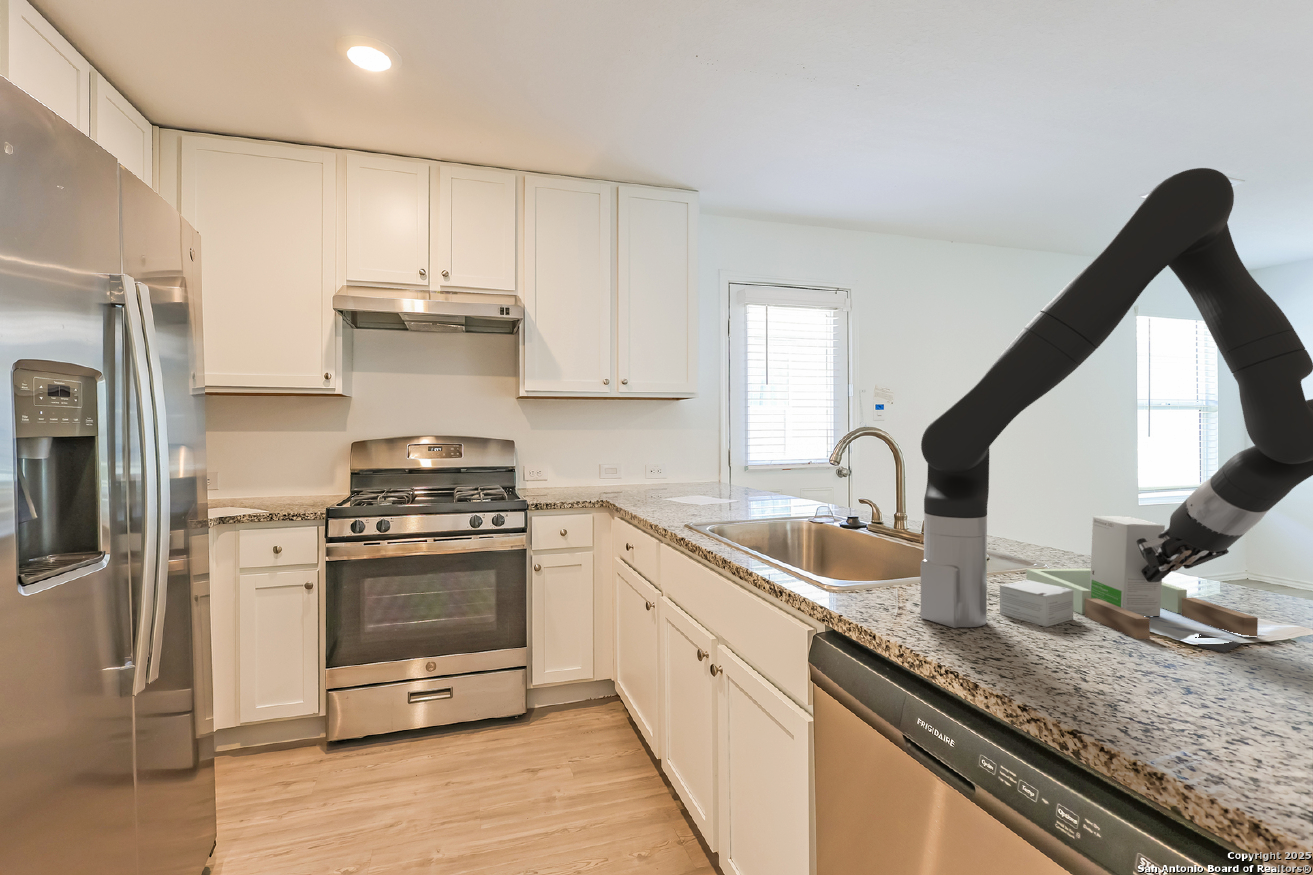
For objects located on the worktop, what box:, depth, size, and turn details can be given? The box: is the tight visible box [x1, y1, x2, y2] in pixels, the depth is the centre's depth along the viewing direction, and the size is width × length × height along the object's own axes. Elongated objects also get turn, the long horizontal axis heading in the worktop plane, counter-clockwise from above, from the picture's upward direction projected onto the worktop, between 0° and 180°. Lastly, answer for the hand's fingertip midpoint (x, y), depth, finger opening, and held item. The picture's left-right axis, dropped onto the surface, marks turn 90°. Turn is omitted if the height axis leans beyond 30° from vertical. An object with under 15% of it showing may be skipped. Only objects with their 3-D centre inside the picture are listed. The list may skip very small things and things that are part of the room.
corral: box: [1025, 568, 1188, 615], centre depth 108 cm, size 15×18×4 cm
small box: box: [999, 579, 1074, 628], centre depth 100 cm, size 8×8×5 cm
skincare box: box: [1090, 515, 1166, 617], centre depth 102 cm, size 8×7×16 cm
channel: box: [1084, 597, 1259, 640], centre depth 94 cm, size 10×18×3 cm, turn 90°
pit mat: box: [1195, 633, 1241, 654], centre depth 87 cm, size 6×5×1 cm
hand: (1149, 577), depth 98 cm, fingers closed
